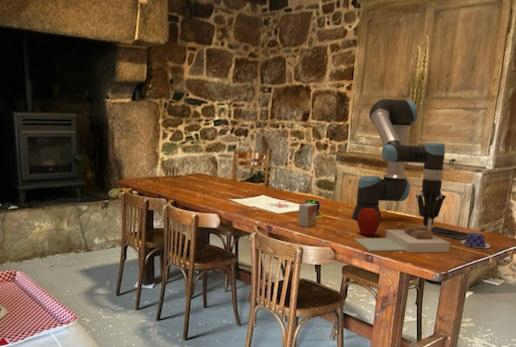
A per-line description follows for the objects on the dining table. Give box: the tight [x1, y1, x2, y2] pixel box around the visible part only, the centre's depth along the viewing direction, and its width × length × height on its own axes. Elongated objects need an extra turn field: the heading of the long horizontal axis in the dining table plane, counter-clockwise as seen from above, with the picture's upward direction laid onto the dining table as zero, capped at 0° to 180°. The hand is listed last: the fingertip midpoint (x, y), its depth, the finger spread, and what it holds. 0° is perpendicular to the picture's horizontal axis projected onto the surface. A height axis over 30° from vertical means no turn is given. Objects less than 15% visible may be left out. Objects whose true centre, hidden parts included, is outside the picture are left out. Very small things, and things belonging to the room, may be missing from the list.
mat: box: [353, 237, 407, 252], centre depth 170 cm, size 16×16×1 cm
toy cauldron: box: [302, 194, 323, 219], centre depth 223 cm, size 15×15×11 cm
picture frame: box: [431, 225, 470, 242], centre depth 193 cm, size 13×2×18 cm
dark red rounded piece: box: [357, 206, 381, 236], centre depth 186 cm, size 10×10×14 cm
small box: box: [297, 203, 317, 228], centre depth 200 cm, size 8×6×10 cm
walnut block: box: [404, 225, 433, 239], centre depth 173 cm, size 10×7×3 cm
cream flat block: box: [385, 229, 451, 253], centre depth 173 cm, size 20×18×4 cm
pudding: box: [459, 232, 492, 249], centre depth 177 cm, size 12×12×5 cm
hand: (427, 232), depth 173 cm, fingers closed
